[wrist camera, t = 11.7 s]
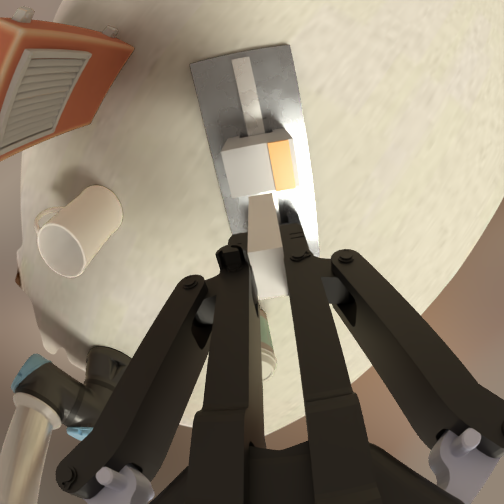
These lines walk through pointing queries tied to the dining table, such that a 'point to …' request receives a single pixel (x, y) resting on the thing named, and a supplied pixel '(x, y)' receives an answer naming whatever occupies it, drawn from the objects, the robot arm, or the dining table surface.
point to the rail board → (274, 118)
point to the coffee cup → (266, 349)
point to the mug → (78, 230)
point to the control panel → (52, 78)
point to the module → (260, 163)
